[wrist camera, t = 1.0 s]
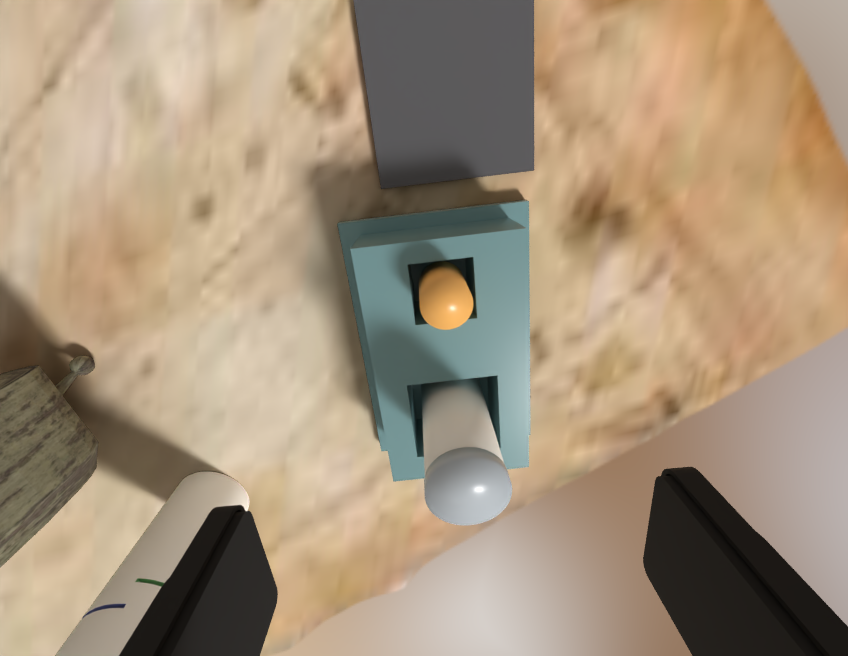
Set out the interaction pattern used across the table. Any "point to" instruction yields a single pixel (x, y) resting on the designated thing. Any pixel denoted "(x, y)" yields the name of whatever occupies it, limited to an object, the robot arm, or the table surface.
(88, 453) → the tabletop clock
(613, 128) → the table surface
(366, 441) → the table surface
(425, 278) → the orange egg shape
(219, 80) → the table surface
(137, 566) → the cylindrical container
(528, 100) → the mat
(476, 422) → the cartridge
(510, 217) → the teal hollow block
